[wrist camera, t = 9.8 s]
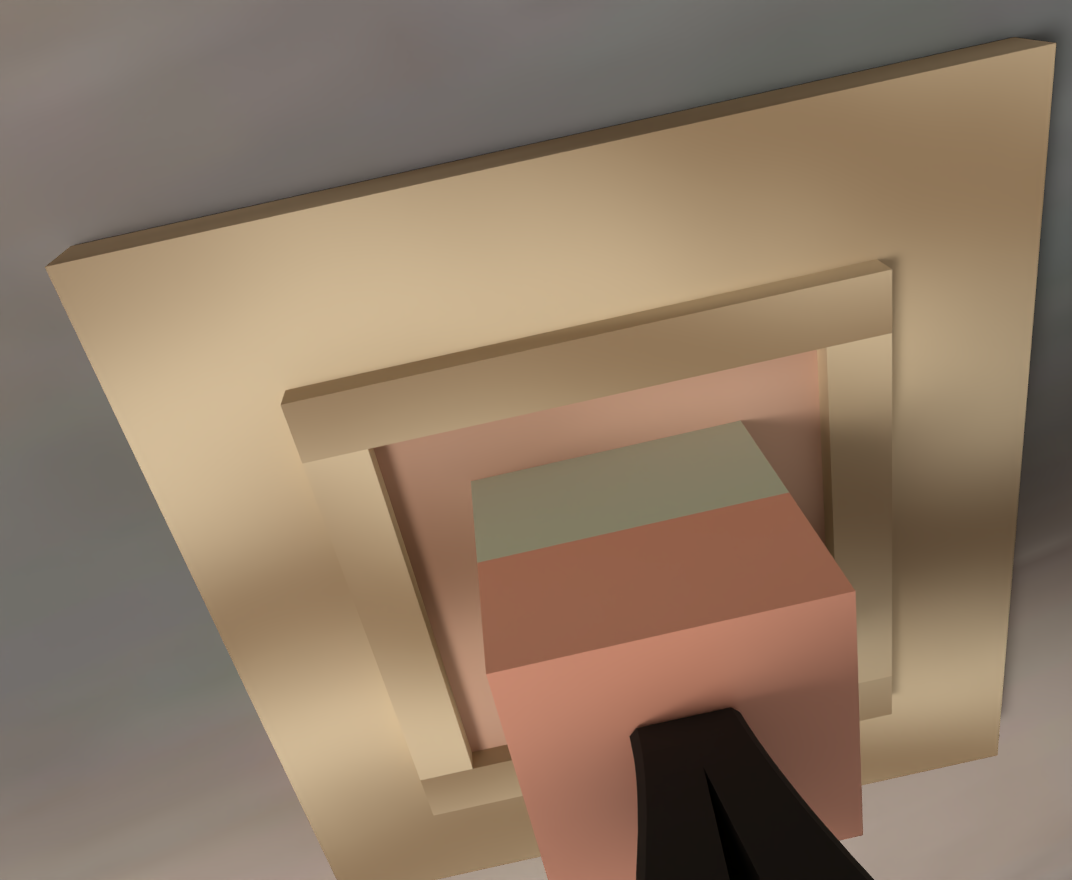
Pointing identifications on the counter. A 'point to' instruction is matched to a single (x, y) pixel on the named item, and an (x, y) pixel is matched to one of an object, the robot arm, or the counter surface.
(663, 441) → the brick stack
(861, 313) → the baseplate
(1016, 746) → the counter surface
